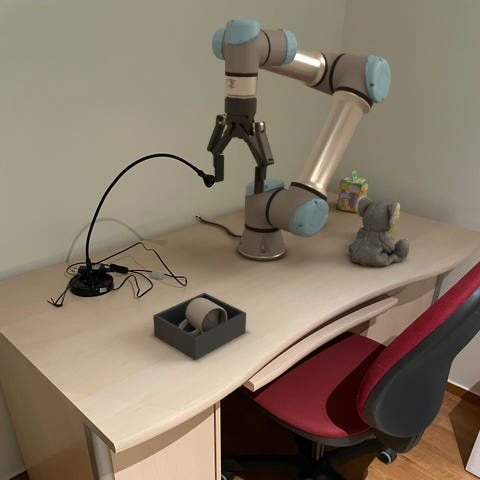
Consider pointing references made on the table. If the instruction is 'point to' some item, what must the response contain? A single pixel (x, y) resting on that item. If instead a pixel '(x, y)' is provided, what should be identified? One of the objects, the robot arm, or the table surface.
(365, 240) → the koala plush
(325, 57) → the robot arm
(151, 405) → the table surface
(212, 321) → the ceramic mug
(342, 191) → the chalk box
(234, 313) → the bin
